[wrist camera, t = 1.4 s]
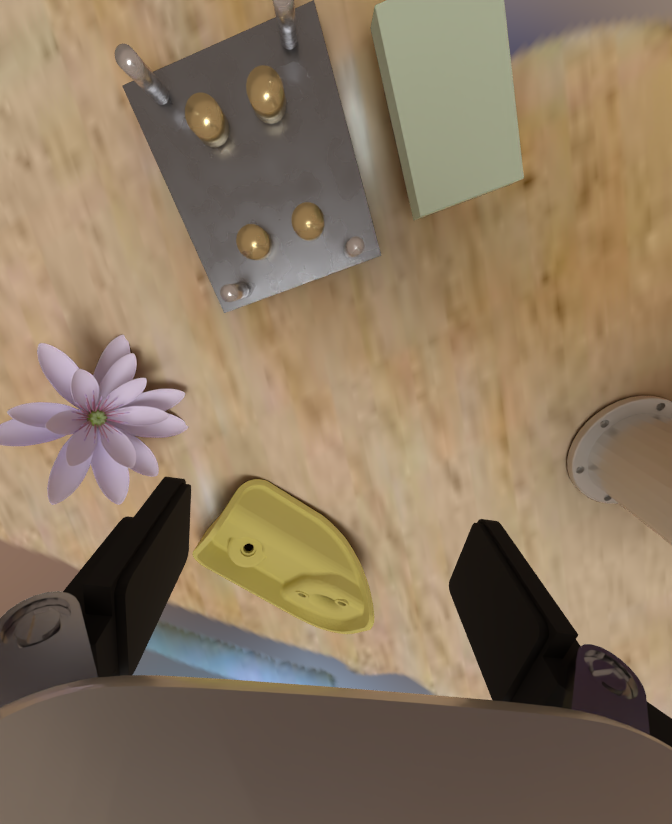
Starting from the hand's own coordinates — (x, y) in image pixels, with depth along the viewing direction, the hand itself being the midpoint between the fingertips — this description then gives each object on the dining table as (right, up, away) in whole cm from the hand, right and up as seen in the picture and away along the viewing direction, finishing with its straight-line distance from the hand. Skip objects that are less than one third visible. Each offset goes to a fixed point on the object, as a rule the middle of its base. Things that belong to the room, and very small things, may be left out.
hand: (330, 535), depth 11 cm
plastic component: (-5, -12, +31) cm, 33 cm away
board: (+7, +24, +12) cm, 28 cm away
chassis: (-5, +22, +16) cm, 28 cm away
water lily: (-19, +5, +23) cm, 30 cm away
